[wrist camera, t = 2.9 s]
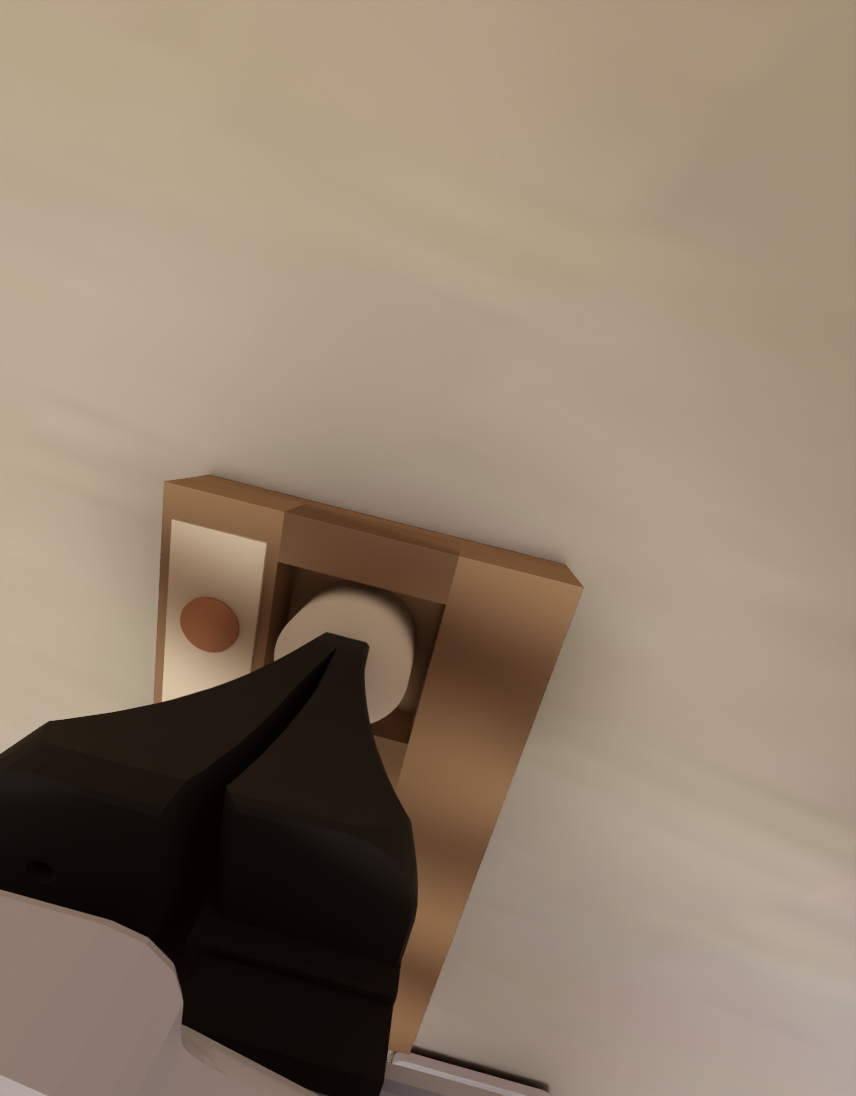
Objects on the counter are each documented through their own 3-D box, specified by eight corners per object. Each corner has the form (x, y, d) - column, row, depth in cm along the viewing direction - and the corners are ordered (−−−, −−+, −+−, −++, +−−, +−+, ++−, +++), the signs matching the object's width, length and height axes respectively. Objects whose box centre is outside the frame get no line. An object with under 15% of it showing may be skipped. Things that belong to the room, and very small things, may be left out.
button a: (402, 699, 14) (393, 741, 12) (293, 670, 14) (266, 707, 12) (429, 597, 13) (423, 625, 11) (310, 566, 13) (283, 589, 11)
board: (414, 992, 19) (408, 1062, 17) (172, 925, 19) (136, 985, 17) (565, 565, 13) (585, 590, 11) (208, 475, 13) (159, 482, 11)
